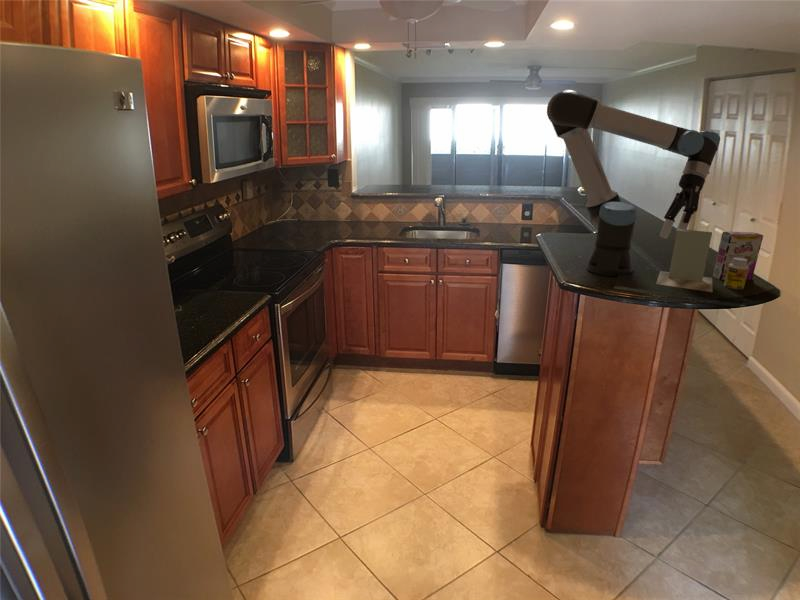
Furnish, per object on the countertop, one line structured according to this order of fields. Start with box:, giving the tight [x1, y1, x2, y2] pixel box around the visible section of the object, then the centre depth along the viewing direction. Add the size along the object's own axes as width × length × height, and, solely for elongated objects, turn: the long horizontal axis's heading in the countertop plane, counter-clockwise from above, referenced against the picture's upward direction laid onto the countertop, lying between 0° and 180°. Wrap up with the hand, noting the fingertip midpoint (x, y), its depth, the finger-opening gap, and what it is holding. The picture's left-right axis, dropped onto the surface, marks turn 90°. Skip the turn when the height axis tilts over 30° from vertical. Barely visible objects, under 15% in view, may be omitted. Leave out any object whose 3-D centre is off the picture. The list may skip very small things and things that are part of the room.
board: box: [655, 270, 714, 293], centre depth 177 cm, size 16×18×1 cm
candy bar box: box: [712, 231, 764, 281], centre depth 180 cm, size 11×5×16 cm, turn 92°
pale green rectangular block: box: [668, 228, 713, 282], centre depth 177 cm, size 10×3×16 cm, turn 61°
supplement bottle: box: [723, 258, 749, 291], centre depth 170 cm, size 6×6×10 cm
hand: (671, 235), depth 186 cm, fingers open, 13 cm apart
